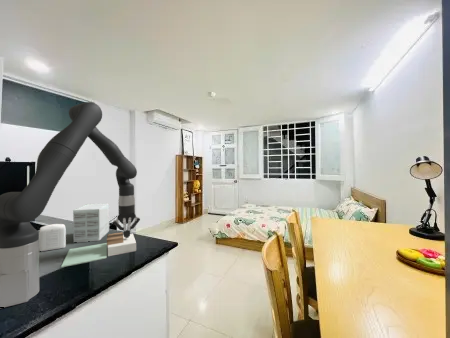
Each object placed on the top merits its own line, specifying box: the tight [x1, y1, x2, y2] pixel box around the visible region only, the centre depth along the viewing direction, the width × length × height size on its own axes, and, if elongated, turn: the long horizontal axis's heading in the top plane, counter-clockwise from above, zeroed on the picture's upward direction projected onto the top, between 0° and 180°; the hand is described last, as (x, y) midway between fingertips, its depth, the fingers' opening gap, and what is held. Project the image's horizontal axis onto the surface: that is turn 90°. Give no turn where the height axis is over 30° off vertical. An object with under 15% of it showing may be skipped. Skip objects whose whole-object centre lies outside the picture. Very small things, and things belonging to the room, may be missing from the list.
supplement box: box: [72, 203, 110, 243], centre depth 117 cm, size 17×13×18 cm
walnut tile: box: [106, 231, 124, 246], centre depth 100 cm, size 9×7×2 cm
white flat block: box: [107, 232, 137, 257], centre depth 101 cm, size 16×12×4 cm
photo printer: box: [38, 223, 67, 252], centre depth 100 cm, size 10×4×12 cm, turn 123°
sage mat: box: [60, 242, 108, 268], centre depth 94 cm, size 20×16×1 cm
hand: (126, 237), depth 102 cm, fingers closed
